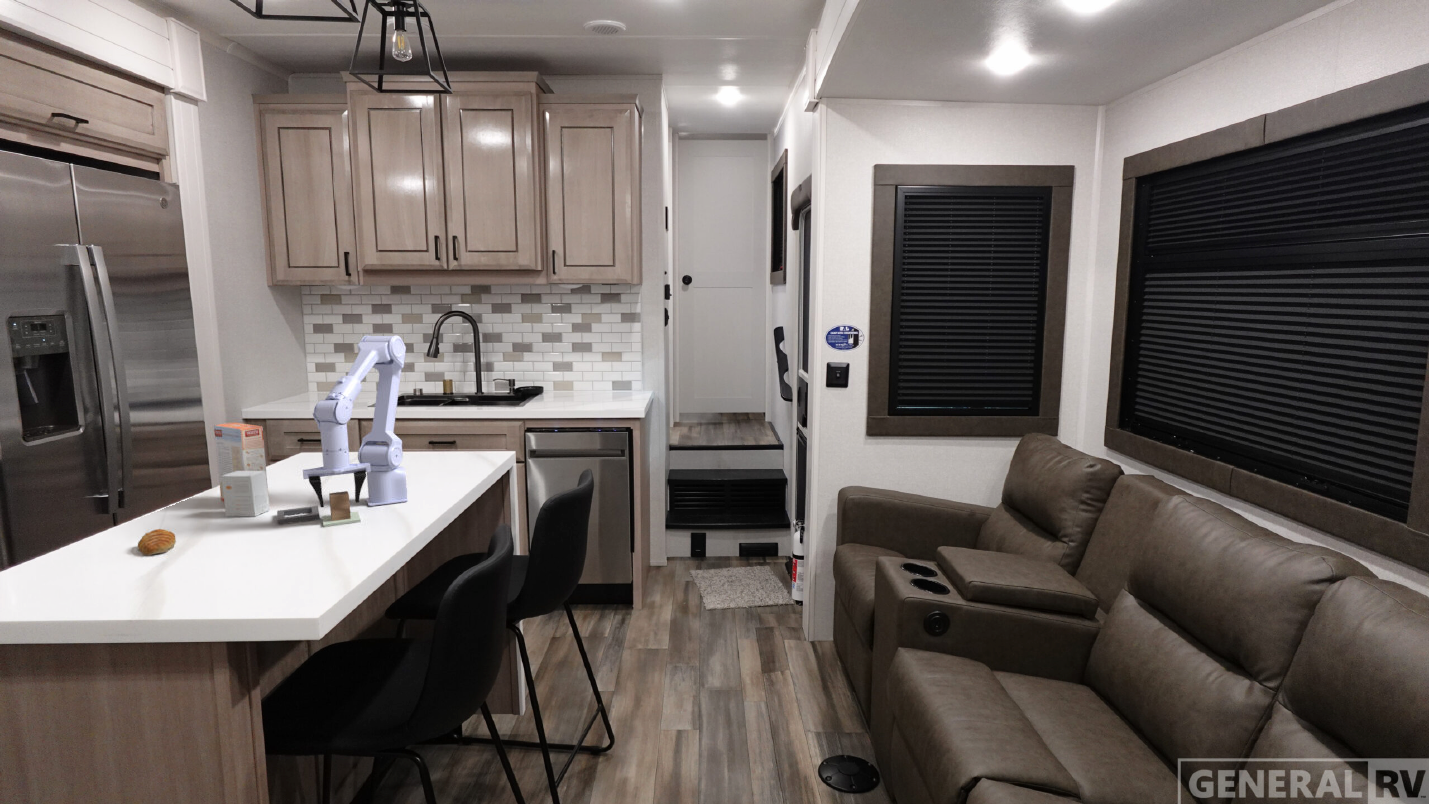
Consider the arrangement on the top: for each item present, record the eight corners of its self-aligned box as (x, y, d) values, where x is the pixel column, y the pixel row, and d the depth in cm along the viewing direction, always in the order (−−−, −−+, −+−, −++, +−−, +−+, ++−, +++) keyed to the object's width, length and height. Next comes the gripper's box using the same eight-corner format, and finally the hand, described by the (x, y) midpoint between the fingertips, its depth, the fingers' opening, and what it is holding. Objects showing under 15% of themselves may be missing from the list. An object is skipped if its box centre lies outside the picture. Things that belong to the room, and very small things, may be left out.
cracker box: (271, 503, 198) (263, 425, 195) (246, 508, 193) (239, 429, 190) (244, 495, 206) (236, 421, 203) (220, 501, 201) (212, 424, 198)
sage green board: (357, 513, 188) (357, 511, 188) (360, 521, 181) (360, 519, 181) (322, 518, 184) (321, 516, 184) (323, 527, 177) (323, 524, 177)
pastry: (177, 552, 161) (175, 535, 160) (138, 560, 157) (135, 542, 156) (176, 541, 168) (174, 525, 167) (138, 548, 164) (136, 531, 163)
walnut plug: (349, 514, 185) (347, 491, 184) (350, 518, 182) (348, 494, 181) (331, 517, 183) (329, 493, 182) (332, 521, 180) (330, 497, 179)
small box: (270, 510, 191) (266, 470, 190) (255, 517, 186) (251, 475, 184) (241, 510, 192) (237, 470, 191) (225, 516, 187) (220, 475, 185)
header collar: (318, 509, 191) (317, 505, 191) (319, 518, 184) (319, 514, 184) (277, 515, 187) (277, 510, 187) (277, 524, 179) (277, 519, 179)
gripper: (301, 455, 173) (306, 512, 175) (370, 448, 180) (374, 503, 182) (300, 450, 179) (305, 505, 181) (367, 443, 186) (371, 496, 188)
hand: (339, 503), depth 182 cm, fingers open, 7 cm apart
